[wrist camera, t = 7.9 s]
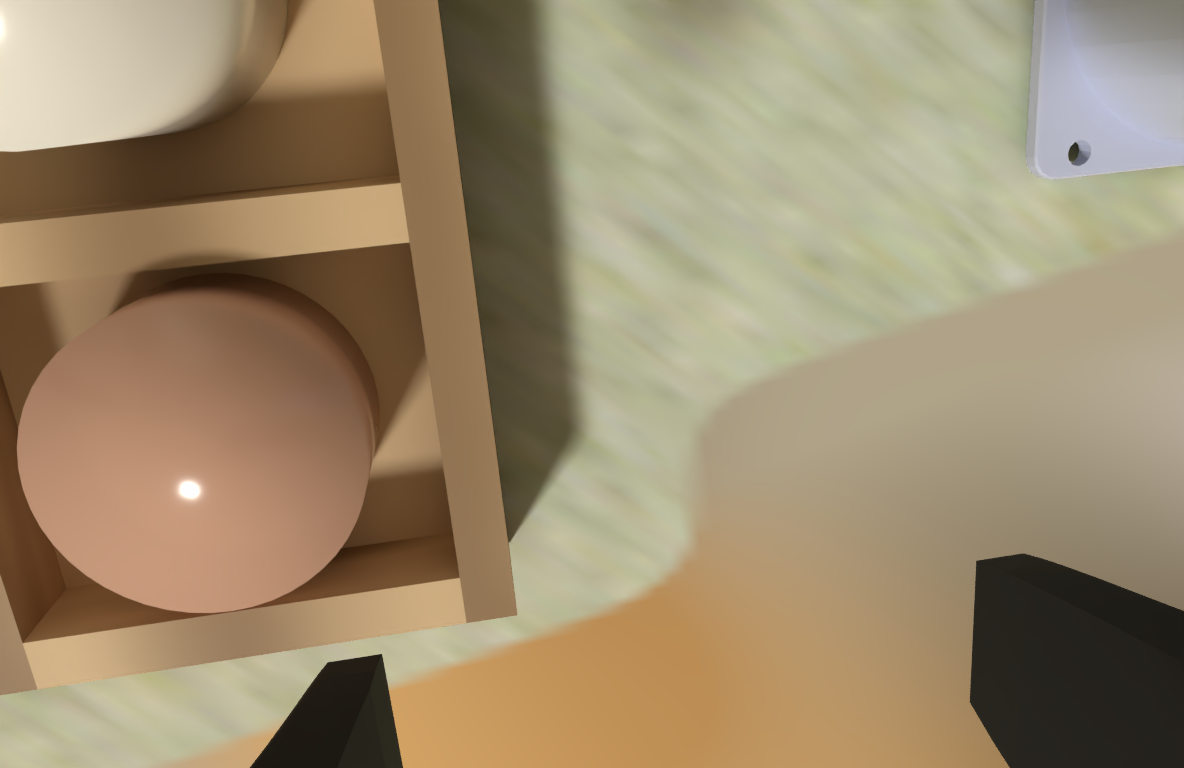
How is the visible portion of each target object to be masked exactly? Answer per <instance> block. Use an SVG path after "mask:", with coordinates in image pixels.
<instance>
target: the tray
mask: <svg viewBox="0 0 1184 768" xmlns="http://www.w3.org/2000/svg"><path fill="white" fill-rule="evenodd" d="M209 273H233V274H245V275H250V276H255V277H260V278H265V279H268V280H271V281H274V282H277V283H280V284H283V285H285V286H288V287H290V288H292V289H294V290H296V291H298V292H300V293H302V294H304V295H306V296H307V297H309V298H310V299H312V300H313V301H315V302H317V303H318V304H320V305H321V306H322V307H323V308H325V309H326V310H327V311H328V312H329V313H331V314H332V315H333V316H334V317H335V318H336V319H337V320H338V321H339V322H340V323H341V324H342V325H343V326H344V327H345V328H346V329H347V330H348V332H349V333H350V334H351V336H352V337H353V338H354V340H355V341H356V343H357V344H358V345H359V347H360V349H361V351H362V352H363V354H364V356H365V358H366V360H367V361H368V364H369V367H370V369H371V372H372V374H373V377H374V380H375V384H376V389H377V393H378V399H379V410H380V419H379V432H378V437H377V443H376V448H375V452H374V457H373V461H372V465H371V470H370V474H369V479H368V483H367V488H366V492H365V497H364V501H363V505H362V508H361V511H360V513H359V516H358V519H357V522H356V524H355V526H354V528H353V530H352V532H351V533H350V535H349V537H348V539H347V540H346V542H345V543H344V545H343V546H342V548H341V549H340V550H339V552H338V553H337V554H336V556H335V557H334V558H333V559H332V560H331V561H330V562H329V563H328V564H327V565H326V566H325V567H324V568H323V569H322V570H321V571H320V572H318V573H317V574H316V575H315V576H314V577H312V578H311V579H310V580H309V581H307V582H306V583H304V584H302V585H301V586H299V587H298V588H296V589H294V590H293V591H291V592H289V593H287V594H285V595H283V596H281V597H279V598H276V599H274V600H272V601H269V602H266V603H263V604H260V605H257V606H254V607H250V608H245V609H240V610H235V611H228V612H217V613H187V612H180V611H172V610H165V609H161V608H157V607H153V606H149V605H145V604H142V603H139V602H137V601H134V600H131V599H128V598H126V597H123V596H121V595H119V594H117V593H115V592H113V591H111V590H109V589H107V588H105V587H103V586H102V585H100V584H99V583H97V582H96V581H94V580H92V579H91V578H89V577H88V576H86V575H85V574H84V573H82V572H81V571H80V570H79V569H78V568H76V567H75V566H74V565H73V564H71V563H70V562H69V561H68V560H67V559H66V558H65V557H64V556H63V555H62V554H61V553H60V552H59V551H58V549H57V548H56V547H55V546H54V545H53V544H52V543H51V541H50V540H49V538H48V537H47V536H46V534H45V533H44V532H43V530H42V529H41V527H40V526H39V524H38V522H37V520H36V518H35V517H34V515H33V513H32V511H31V509H30V507H29V504H28V501H27V499H26V496H25V494H24V491H23V488H22V483H21V479H20V474H19V470H18V458H17V440H18V427H19V423H20V419H21V415H22V411H23V407H24V405H25V402H26V400H27V397H28V395H29V393H30V390H31V388H32V386H33V385H34V383H35V381H36V380H37V378H38V376H39V375H40V373H41V372H42V370H43V369H44V368H45V366H46V365H47V364H48V363H49V362H50V360H51V359H52V358H53V357H54V356H55V355H56V353H57V352H59V351H60V350H61V349H62V348H63V347H64V346H65V345H67V344H68V343H69V342H70V341H71V340H72V339H74V338H75V337H77V336H78V335H80V334H81V333H83V332H84V331H86V330H87V329H89V328H91V327H92V326H94V325H95V324H97V323H98V322H100V321H102V320H103V319H105V318H106V317H108V316H109V315H111V314H113V313H114V312H116V311H117V310H119V309H121V308H122V307H124V306H125V305H127V304H128V303H130V302H132V301H133V300H135V299H136V298H138V297H139V296H141V295H143V294H144V293H146V292H147V291H149V290H152V289H154V288H156V287H158V286H160V285H162V284H164V283H167V282H170V281H174V280H177V279H180V278H183V277H188V276H194V275H200V274H209ZM515 615H517V609H516V600H515V592H514V584H513V576H512V568H511V559H510V551H509V543H508V535H507V528H506V520H505V512H504V504H503V497H502V489H501V481H500V474H499V466H498V458H497V450H496V443H495V435H494V427H493V419H492V412H491V404H490V396H489V389H488V381H487V373H486V365H485V358H484V350H483V342H482V335H481V327H480V319H479V311H478V304H477V296H476V288H475V280H474V273H473V265H472V257H471V250H470V242H469V234H468V226H467V219H466V211H465V203H464V196H463V188H462V180H461V172H460V165H459V157H458V149H457V141H456V134H455V126H454V118H453V111H452V103H451V95H450V87H449V80H448V72H447V64H446V57H445V49H444V41H443V33H442V26H441V18H440V10H439V2H438V0H288V16H287V26H286V31H285V36H284V41H283V44H282V47H281V50H280V53H279V56H278V59H277V61H276V63H275V65H274V67H273V69H272V71H271V73H270V75H269V76H268V77H267V79H266V80H265V82H264V83H263V85H262V86H261V88H260V89H259V90H258V91H257V92H256V93H255V94H254V95H253V96H252V97H251V98H250V100H249V101H247V102H246V103H245V104H244V105H242V106H241V107H240V108H239V109H237V110H236V111H235V112H233V113H232V114H230V115H228V116H226V117H225V118H223V119H221V120H220V121H217V122H215V123H212V124H210V125H207V126H205V127H202V128H198V129H194V130H190V131H185V132H177V133H169V134H161V135H153V136H144V137H136V138H128V139H120V140H112V141H103V142H95V143H87V144H79V145H71V146H62V147H54V148H46V149H37V150H28V151H20V152H9V151H0V695H4V694H10V693H17V692H23V691H30V690H36V689H43V688H49V687H56V686H62V685H69V684H75V683H82V682H88V681H94V680H101V679H107V678H114V677H120V676H127V675H133V674H140V673H146V672H153V671H159V670H166V669H172V668H178V667H185V666H191V665H198V664H204V663H211V662H217V661H224V660H230V659H237V658H243V657H250V656H256V655H263V654H269V653H275V652H282V651H288V650H295V649H301V648H308V647H314V646H321V645H327V644H334V643H340V642H347V641H353V640H359V639H366V638H372V637H379V636H385V635H392V634H398V633H405V632H411V631H418V630H424V629H431V628H437V627H443V626H450V625H456V624H463V623H469V622H476V621H482V620H489V619H495V618H502V617H508V616H515Z"/></svg>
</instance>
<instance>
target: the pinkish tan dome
mask: <svg viewBox="0 0 1184 768" xmlns="http://www.w3.org/2000/svg"><path fill="white" fill-rule="evenodd" d="M379 419H380V410H379V399H378V393H377V389H376V384H375V380H374V377H373V374H372V372H371V369H370V367H369V364H368V361H367V360H366V358H365V356H364V354H363V352H362V351H361V349H360V347H359V345H358V344H357V343H356V341H355V340H354V338H353V337H352V336H351V334H350V333H349V332H348V330H347V329H346V328H345V327H344V326H343V325H342V324H341V323H340V322H339V321H338V320H337V319H336V318H335V317H334V316H333V315H332V314H331V313H329V312H328V311H327V310H326V309H325V308H323V307H322V306H321V305H320V304H318V303H317V302H315V301H313V300H312V299H310V298H309V297H307V296H306V295H304V294H302V293H300V292H298V291H296V290H294V289H292V288H290V287H288V286H285V285H283V284H280V283H277V282H274V281H271V280H268V279H265V278H260V277H255V276H250V275H245V274H233V273H209V274H200V275H194V276H188V277H183V278H180V279H177V280H174V281H170V282H167V283H164V284H162V285H160V286H158V287H156V288H154V289H152V290H149V291H147V292H146V293H144V294H143V295H141V296H139V297H138V298H136V299H135V300H133V301H132V302H130V303H128V304H127V305H125V306H124V307H122V308H121V309H119V310H117V311H116V312H114V313H113V314H111V315H109V316H108V317H106V318H105V319H103V320H102V321H100V322H98V323H97V324H95V325H94V326H92V327H91V328H89V329H87V330H86V331H84V332H83V333H81V334H80V335H78V336H77V337H75V338H74V339H72V340H71V341H70V342H69V343H68V344H67V345H65V346H64V347H63V348H62V349H61V350H60V351H59V352H57V353H56V355H55V356H54V357H53V358H52V359H51V360H50V362H49V363H48V364H47V365H46V366H45V368H44V369H43V370H42V372H41V373H40V375H39V376H38V378H37V380H36V381H35V383H34V385H33V386H32V388H31V390H30V393H29V395H28V397H27V400H26V402H25V405H24V407H23V411H22V415H21V419H20V423H19V427H18V440H17V458H18V470H19V474H20V479H21V483H22V488H23V491H24V494H25V496H26V499H27V501H28V504H29V507H30V509H31V511H32V513H33V515H34V517H35V518H36V520H37V522H38V524H39V526H40V527H41V529H42V530H43V532H44V533H45V534H46V536H47V537H48V538H49V540H50V541H51V543H52V544H53V545H54V546H55V547H56V548H57V549H58V551H59V552H60V553H61V554H62V555H63V556H64V557H65V558H66V559H67V560H68V561H69V562H70V563H71V564H73V565H74V566H75V567H76V568H78V569H79V570H80V571H81V572H82V573H84V574H85V575H86V576H88V577H89V578H91V579H92V580H94V581H96V582H97V583H99V584H100V585H102V586H103V587H105V588H107V589H109V590H111V591H113V592H115V593H117V594H119V595H121V596H123V597H126V598H128V599H131V600H134V601H137V602H139V603H142V604H145V605H149V606H153V607H157V608H161V609H165V610H172V611H180V612H187V613H217V612H228V611H235V610H240V609H245V608H250V607H254V606H257V605H260V604H263V603H266V602H269V601H272V600H274V599H276V598H279V597H281V596H283V595H285V594H287V593H289V592H291V591H293V590H294V589H296V588H298V587H299V586H301V585H302V584H304V583H306V582H307V581H309V580H310V579H311V578H312V577H314V576H315V575H316V574H317V573H318V572H320V571H321V570H322V569H323V568H324V567H325V566H326V565H327V564H328V563H329V562H330V561H331V560H332V559H333V558H334V557H335V556H336V554H337V553H338V552H339V550H340V549H341V548H342V546H343V545H344V543H345V542H346V540H347V539H348V537H349V535H350V533H351V532H352V530H353V528H354V526H355V524H356V522H357V519H358V516H359V513H360V511H361V508H362V505H363V501H364V497H365V492H366V488H367V483H368V479H369V474H370V470H371V465H372V461H373V457H374V452H375V448H376V443H377V437H378V432H379Z"/></svg>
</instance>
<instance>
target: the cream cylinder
mask: <svg viewBox="0 0 1184 768" xmlns="http://www.w3.org/2000/svg"><path fill="white" fill-rule="evenodd" d="M287 16H288V0H0V151H9V152H20V151H28V150H37V149H46V148H54V147H62V146H71V145H79V144H87V143H95V142H103V141H112V140H120V139H128V138H136V137H144V136H153V135H161V134H169V133H177V132H185V131H190V130H194V129H198V128H202V127H205V126H207V125H210V124H212V123H215V122H217V121H220V120H221V119H223V118H225V117H226V116H228V115H230V114H232V113H233V112H235V111H236V110H237V109H239V108H240V107H241V106H242V105H244V104H245V103H246V102H247V101H249V100H250V98H251V97H252V96H253V95H254V94H255V93H256V92H257V91H258V90H259V89H260V88H261V86H262V85H263V83H264V82H265V80H266V79H267V77H268V76H269V75H270V73H271V71H272V69H273V67H274V65H275V63H276V61H277V59H278V56H279V53H280V50H281V47H282V44H283V41H284V36H285V31H286V26H287Z"/></svg>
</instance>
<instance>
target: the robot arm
mask: <svg viewBox="0 0 1184 768" xmlns="http://www.w3.org/2000/svg"><path fill="white" fill-rule="evenodd" d="M1074 142H1076V143H1077V144H1078V146H1079V153H1078V157H1077V158H1076V159H1075V161H1074V162H1073V163H1071V162H1070V161H1069V158H1068V152H1069V149H1070V147H1071V146H1072V145H1073V144H1074ZM1026 162H1027V167H1028V168H1029V170H1030V172H1031V173H1032V174H1034V175H1035V176H1037V177H1040V178H1047V179H1062V178H1071V177H1080V176H1089V175H1098V174H1107V173H1116V172H1125V171H1135V170H1144V169H1153V168H1162V167H1171V166H1180V165H1184V0H1035V5H1034V23H1033V40H1032V58H1031V75H1030V93H1029V111H1028V128H1027V146H1026ZM970 703H971V705H972V707H973V708H974V709H975V712H976V713H977V715H978V717H979V718H980V720H981V722H982V723H983V725H984V727H985V728H986V730H987V732H988V734H989V735H990V737H991V739H992V740H993V742H994V744H995V745H996V747H997V748H998V750H999V751H1000V753H1001V755H1002V756H1003V758H1004V759H1005V761H1006V762H1007V764H1008V766H1009V767H1010V768H1184V611H1182V610H1180V609H1177V608H1174V607H1172V606H1169V605H1166V604H1164V603H1161V602H1159V601H1156V600H1153V599H1151V598H1148V597H1145V596H1143V595H1140V594H1138V593H1135V592H1132V591H1130V590H1127V589H1124V588H1122V587H1119V586H1117V585H1114V584H1112V583H1109V582H1106V581H1104V580H1101V579H1098V578H1096V577H1093V576H1090V575H1087V574H1085V573H1082V572H1079V571H1077V570H1074V569H1071V568H1068V567H1065V566H1063V565H1060V564H1057V563H1054V562H1050V561H1048V560H1044V559H1041V558H1038V557H1034V556H1031V555H1027V554H1017V555H1011V556H1004V557H998V558H992V559H985V560H979V561H976V582H975V605H974V626H973V646H972V669H971V690H970ZM250 768H403V766H402V761H401V755H400V749H399V744H398V738H397V733H396V728H395V723H394V717H393V711H392V706H391V701H390V695H389V690H388V684H387V679H386V673H385V668H384V663H383V657H382V654H379V655H373V656H367V657H360V658H354V659H348V660H341V661H335V662H328V663H327V664H326V665H325V667H324V668H323V669H322V670H321V672H320V673H319V674H318V675H317V677H316V678H315V680H314V681H313V682H312V684H311V685H310V686H309V688H308V689H307V691H306V692H305V693H304V695H303V696H302V698H301V699H300V700H299V702H298V703H297V705H296V706H295V708H294V709H293V710H292V712H291V713H290V715H289V716H288V717H287V719H286V720H285V721H284V723H283V724H282V726H281V727H280V728H279V730H278V731H277V732H276V734H275V735H274V737H273V738H272V739H271V741H270V742H269V743H268V745H267V746H266V747H265V749H264V750H263V751H262V753H261V754H260V755H259V756H258V758H257V759H256V760H255V762H254V763H253V764H252V766H251V767H250Z"/></svg>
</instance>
